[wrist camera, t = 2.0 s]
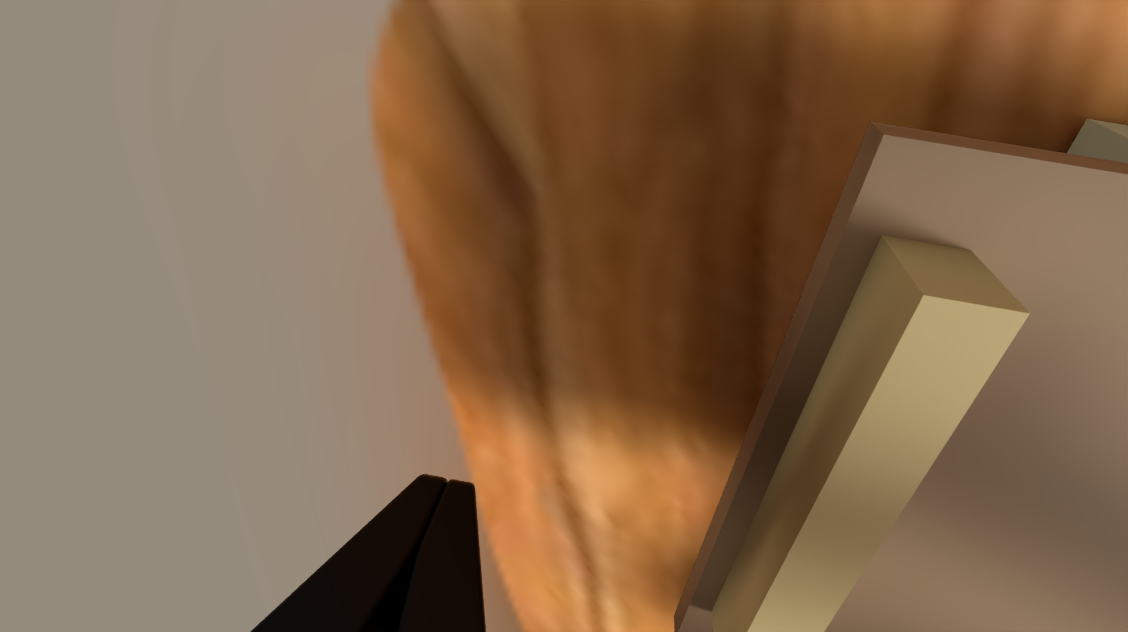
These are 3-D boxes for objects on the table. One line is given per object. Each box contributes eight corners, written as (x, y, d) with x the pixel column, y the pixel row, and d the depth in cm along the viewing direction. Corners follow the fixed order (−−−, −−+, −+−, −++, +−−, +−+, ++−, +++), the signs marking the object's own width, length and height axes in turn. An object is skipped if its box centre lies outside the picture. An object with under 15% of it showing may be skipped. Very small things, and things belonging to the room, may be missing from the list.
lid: (1072, 692, 14) (1133, 807, 12) (674, 615, 15) (676, 715, 13) (1596, 239, 8) (1877, 337, 6) (870, 120, 8) (930, 179, 6)
